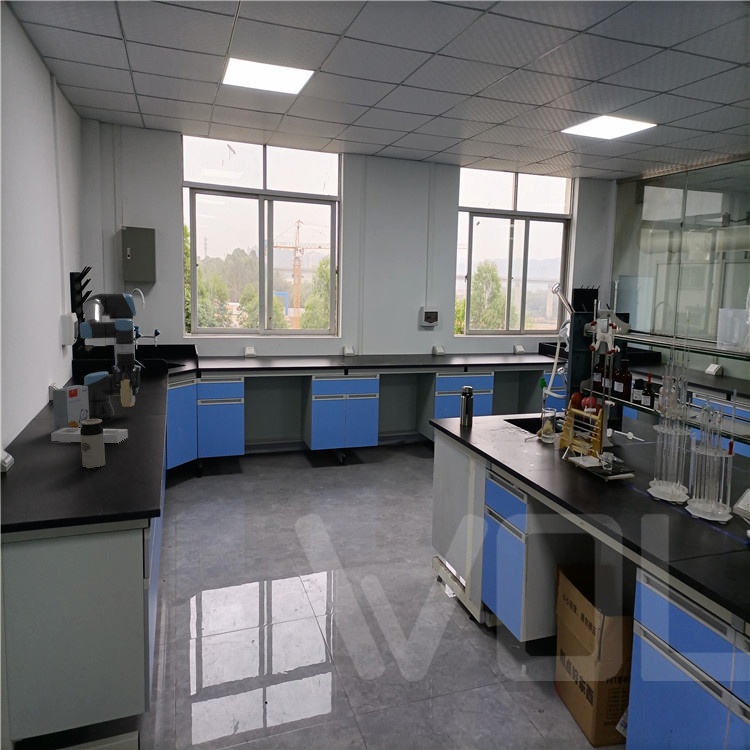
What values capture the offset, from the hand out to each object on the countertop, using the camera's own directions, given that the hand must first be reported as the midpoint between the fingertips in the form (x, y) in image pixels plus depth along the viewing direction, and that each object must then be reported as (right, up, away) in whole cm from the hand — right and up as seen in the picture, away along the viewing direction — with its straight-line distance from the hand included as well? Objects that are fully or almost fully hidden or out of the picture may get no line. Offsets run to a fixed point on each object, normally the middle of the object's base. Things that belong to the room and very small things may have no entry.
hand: (128, 402), depth 266 cm
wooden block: (0, -2, 0) cm, 2 cm away
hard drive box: (-33, -13, +13) cm, 37 cm away
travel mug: (+6, -23, -43) cm, 49 cm away
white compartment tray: (-14, -17, -8) cm, 23 cm away
